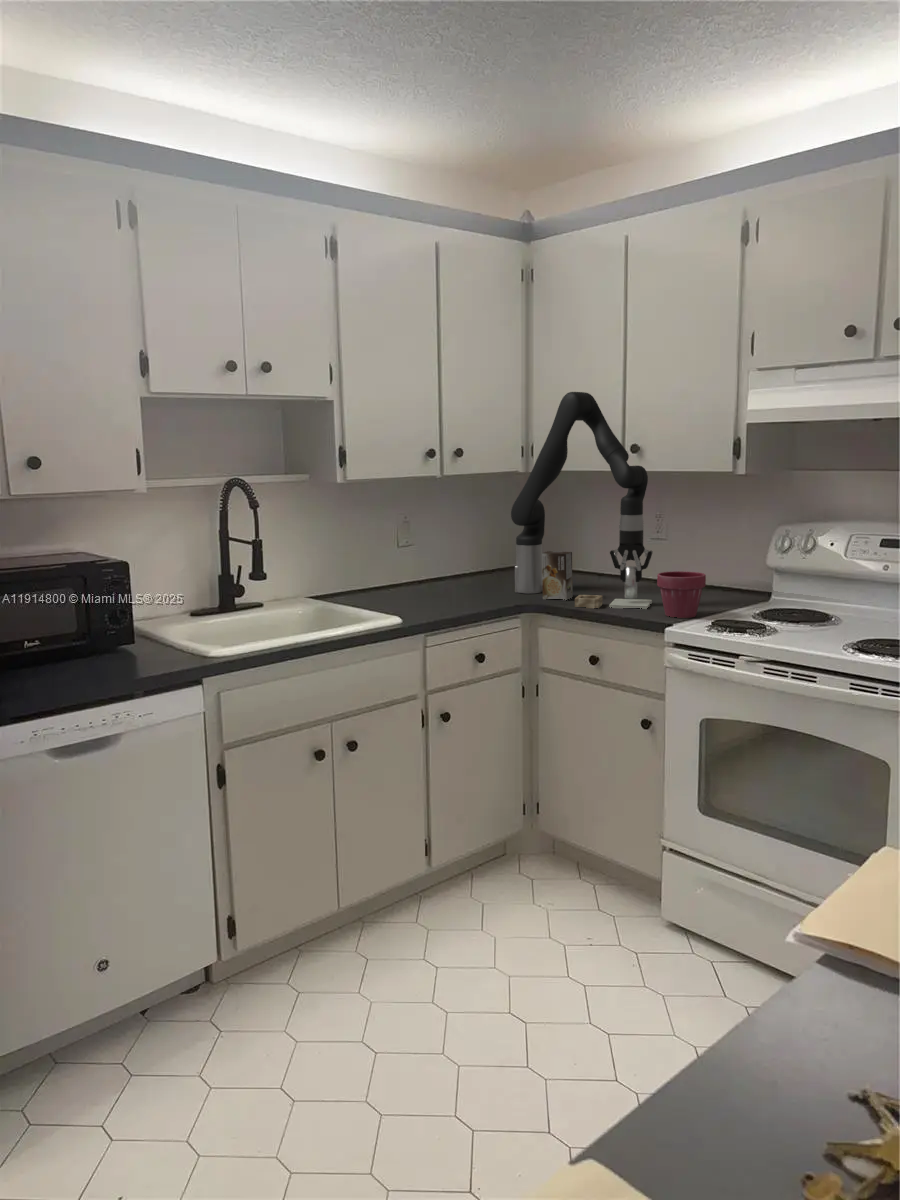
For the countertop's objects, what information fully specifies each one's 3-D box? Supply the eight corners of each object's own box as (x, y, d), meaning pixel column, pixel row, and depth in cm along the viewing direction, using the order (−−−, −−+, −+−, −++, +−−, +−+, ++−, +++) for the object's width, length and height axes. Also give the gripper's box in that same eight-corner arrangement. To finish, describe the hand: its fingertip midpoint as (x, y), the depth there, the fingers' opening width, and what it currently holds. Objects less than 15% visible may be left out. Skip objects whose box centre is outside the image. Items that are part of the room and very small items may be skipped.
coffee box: (573, 598, 305) (573, 551, 302) (567, 601, 299) (566, 553, 297) (548, 596, 309) (548, 550, 306) (541, 599, 304) (541, 552, 301)
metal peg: (623, 598, 286) (623, 567, 285) (625, 596, 290) (625, 566, 289) (636, 598, 285) (636, 567, 283) (637, 596, 289) (638, 566, 287)
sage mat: (609, 608, 285) (609, 604, 284) (615, 601, 296) (615, 598, 296) (647, 609, 281) (647, 606, 280) (651, 602, 292) (651, 599, 292)
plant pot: (675, 609, 279) (675, 569, 277) (714, 615, 269) (715, 573, 267) (647, 615, 270) (647, 574, 268) (686, 621, 260) (687, 578, 258)
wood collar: (574, 607, 287) (574, 598, 286) (579, 603, 294) (579, 594, 293) (598, 608, 284) (598, 599, 283) (602, 604, 291) (602, 595, 291)
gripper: (655, 527, 285) (654, 580, 288) (611, 527, 290) (610, 579, 293) (652, 530, 278) (651, 584, 281) (607, 529, 283) (606, 582, 286)
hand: (630, 581), depth 287 cm, fingers closed on metal peg, 4 cm apart
